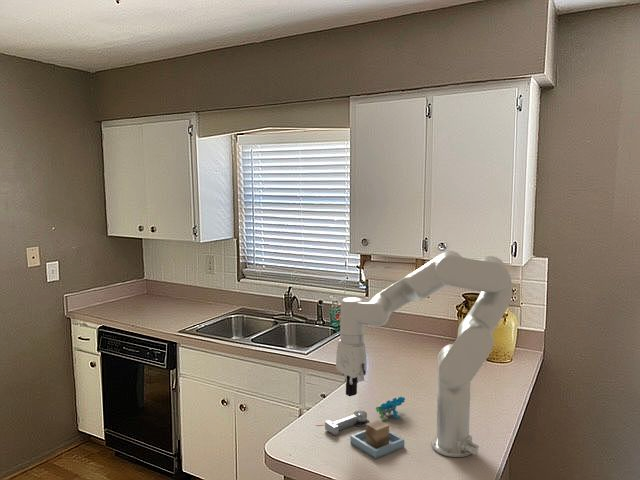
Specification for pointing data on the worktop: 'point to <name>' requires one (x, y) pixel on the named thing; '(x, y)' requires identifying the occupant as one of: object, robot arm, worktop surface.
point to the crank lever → (346, 422)
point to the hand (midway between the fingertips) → (351, 394)
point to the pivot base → (354, 425)
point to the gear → (390, 404)
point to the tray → (393, 445)
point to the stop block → (377, 434)
